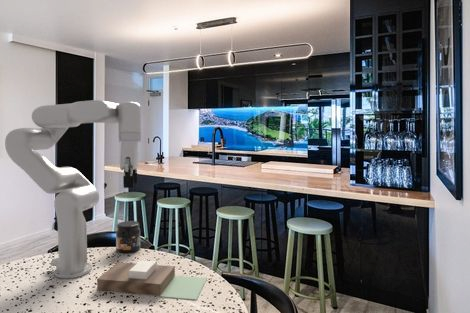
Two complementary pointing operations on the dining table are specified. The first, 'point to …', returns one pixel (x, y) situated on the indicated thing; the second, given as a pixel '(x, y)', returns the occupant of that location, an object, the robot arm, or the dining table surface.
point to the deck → (135, 280)
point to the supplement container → (128, 237)
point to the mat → (184, 287)
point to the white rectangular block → (142, 269)
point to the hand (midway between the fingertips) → (130, 185)
